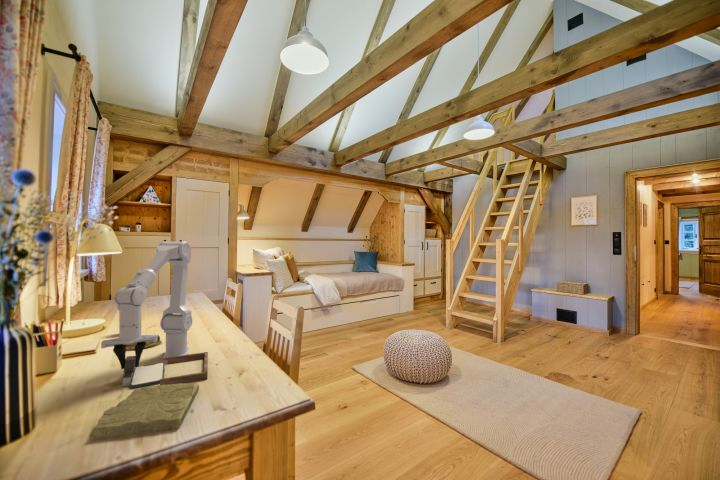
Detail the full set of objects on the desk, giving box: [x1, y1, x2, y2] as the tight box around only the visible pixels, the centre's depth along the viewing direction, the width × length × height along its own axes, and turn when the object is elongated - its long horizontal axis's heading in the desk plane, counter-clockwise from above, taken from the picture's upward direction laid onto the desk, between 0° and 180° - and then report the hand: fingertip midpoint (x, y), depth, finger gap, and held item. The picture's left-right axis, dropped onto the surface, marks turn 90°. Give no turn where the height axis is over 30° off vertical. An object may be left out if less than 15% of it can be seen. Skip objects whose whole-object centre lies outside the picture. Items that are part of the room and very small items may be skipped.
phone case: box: [129, 362, 165, 390], centre depth 103 cm, size 9×2×16 cm
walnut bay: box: [159, 351, 209, 385], centre depth 108 cm, size 21×13×2 cm, turn 25°
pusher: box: [121, 355, 136, 387], centre depth 102 cm, size 12×2×6 cm, turn 31°
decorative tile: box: [90, 382, 200, 441], centre depth 82 cm, size 19×20×4 cm
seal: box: [126, 334, 163, 352], centre depth 132 cm, size 9×5×15 cm
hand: (130, 367), depth 102 cm, fingers closed on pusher, 3 cm apart
